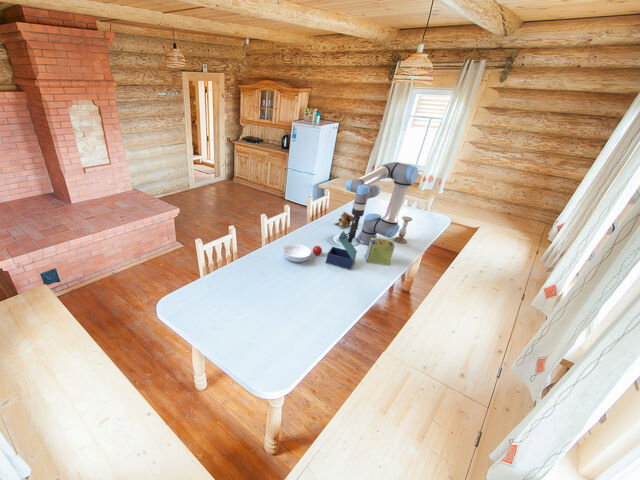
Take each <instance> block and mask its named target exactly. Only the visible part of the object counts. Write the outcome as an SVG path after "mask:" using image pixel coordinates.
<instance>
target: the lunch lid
mask: <svg viewBox="0 0 640 480" xmlns="http://www.w3.org/2000/svg"><path fill="white" fill-rule="evenodd" d="M348 238H349V232H347V233H346V232H345V231H344V230H343V231H342V232H341V233H340V235H339V236H338V241H340V243H341V245H342V246H343V249H344V250H346V251H347V253H348V254H349V256H350V257H351V259H352V260H353V259H354V257H355V255H356V256H357V253H358V251H357V249H356V248H355V246H354V245H353V242H352V243H350V242H348ZM355 258H356V257H355Z"/></svg>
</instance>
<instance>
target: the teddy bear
mask: <svg viewBox="0 0 640 480" xmlns="http://www.w3.org/2000/svg"><path fill="white" fill-rule="evenodd" d="M339 217H340V218H338V219H337V221H338V222H336V223H335V225H336V226H340V227H341V228H342V229H346V228H347V227H348V226H349V225H350V224H351V223H352V220H353V217H354V215H353V214H350V213H347V212H346V211H343V212H342V214H341V215H339Z"/></svg>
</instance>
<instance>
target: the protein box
mask: <svg viewBox="0 0 640 480" xmlns="http://www.w3.org/2000/svg"><path fill="white" fill-rule="evenodd" d="M395 247H396V246H395V243H394V241H393V239H387V238H386V239H385V238H370V242H369V245H367V250H366V253H365V258H366V263H370V264H378V265H386V266H387V265H388V266H389V265H390V263H391V259H392V256H393V254H394V251H395V249H396V248H395Z"/></svg>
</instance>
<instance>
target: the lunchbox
mask: <svg viewBox="0 0 640 480" xmlns="http://www.w3.org/2000/svg"><path fill="white" fill-rule="evenodd" d="M356 256H357V254H356V255H355V257H354V259H353V260H352V259H351V257H350V256H349V254H348V253H347V251H346V249H345V248H339V247H335V246H331V248H330V249H329V250H328V252H327V254H326V261H325V264H329V265H333V266H335V267H340V268H341V269H342V268H343V269H347V270H351V269H352V267H353V265H354V263H355V261H356Z"/></svg>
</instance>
